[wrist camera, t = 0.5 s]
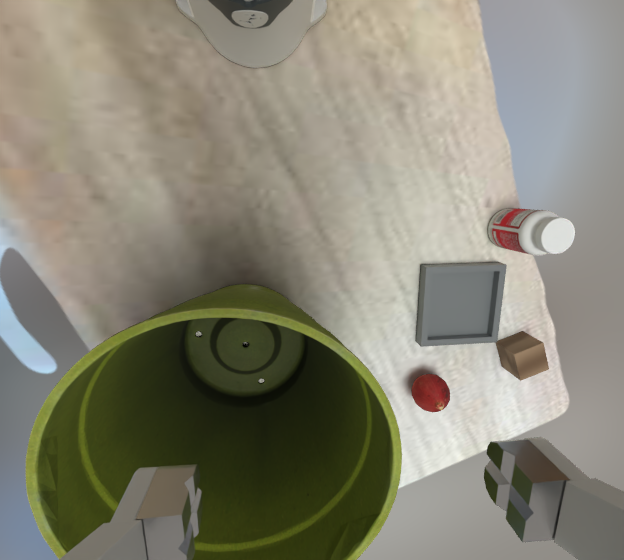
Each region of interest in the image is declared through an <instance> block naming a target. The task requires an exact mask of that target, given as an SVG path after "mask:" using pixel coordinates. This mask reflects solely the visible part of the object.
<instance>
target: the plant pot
mask: <svg viewBox="0 0 624 560" xmlns="http://www.w3.org/2000/svg"><path fill="white" fill-rule="evenodd" d="M197 331H200V332H201V333H202V336H201V337H196V336H195V334H196V332H197ZM243 342H248V343H249V346H248V347H246V348H245V347H243V345H242V344H243ZM261 378H262V379H264V380H265V382H264V383H262V384H260V383H258V380H259V379H261ZM401 462H402V451H401V440H400V434H399V428H398V425H397V421H396V417H395V415H394V412H393V410H392V407H391V405H390V402H389V400H388V398H387V396H386V395H385V393H384V391H383V390H382V388H381V386H380V385H379V383H378V382H377V380H376V379H375V377H374V376H373V375H372V373H371V372H370V371H369V369H368V368H367V367H366V366H365V365H364V364H363V363H362V362H361V361H360V360H359V359H358V358H357V357H356V356H355V355H354V354H353V353H352V352H351V351H349V350H348V349H347V348H346V347H345V346H344V345H343V344H342V343H341V342H340V341H339V340H338V339H337V338H336V337H335V336H334V335H332V334H331V333H330V332H329V331H327V330H326V329H325V328H323V327H322V326H321V325H319V324H318V323H317V322H316V321H315V320H314V319H313V318H312V317H310V316H309V315H308V314H307V313H305V312H304V311H303V310H301V309H300V308H299V307H297V306H296V305H294V304H293V303H291V302H290V301H289V300H287V299H286V298H285V297H284V296H282V295H281V294H279V293H278V292H276V291H274V290H271V289H269V288H266V287H262V286H258V285H252V284H238V285H232V286H228V287H224V288H221V289H219V290H216V291H214V292H212V293H208V294H205V295H202V296H200V297H197V298H194V299H192V300H189V301H187V302H184V303H182V304H180V305H178V306H176V307H174V308H172V309H169V310H167V311H164V312H162V313H160V314H157V315H155V316H153V317H151V318H149V319H147V320H145V321H143V322H140V323H138V324H136V325H133V326H131V327H129V328H127V329H125V330H123V331H121V332H119V333H117V334H115V335H114V336H112V337H110V338H109V339H107V340H106V341H104V342H103V343H101V344H99V345H98V346H96V347H95V348H94V349H93V350H91V351H90V352H89V353H88V354H86V355H85V356H84V357H83V358H81V359H80V360H79V361H78V362H77V363H76V364H75V365H74V366H73V367H72V368H71V369H70V370H69V371H68V372H67V373H66V374H65V375H64V376H63V377H62V379H61V380H60V381H59V382H58V383H57V385H56V386H55V387H54V389H53V390H52V391H51V393H50V394H49V396H48V397H47V399H46V401H45V403H44V404H43V406H42V408H41V410H40V412H39V414H38V416H37V418H36V420H35V423H34V426H33V429H32V432H31V435H30V439H29V444H28V449H27V455H26V487H27V495H28V500H29V503H30V506H31V509H32V512H33V515H34V518H35V520H36V522H37V525H38V528H39V530H40V532H41V534H42V536H43V537H44V539H45V541H46V542H47V543H48V545H49V546H50V548H51V549H52V550H53V552H54V553H55V554H56V556H57V557H58V558H59V559H60V558H62V557H63V556H64V555H65V554H67V553H68V552H69V551H70V550H71V549H73V548H74V547H75V546H76V545H78V544H79V543H80V542H81V541H82V540H84V539H85V538H86V537H87V536H89V535H90V534H91V533H92V532H93V531H95V530H96V529H97V528H98V527H100V526H101V525H102V524H103V523H110V522H111V520H112V518H113V516H114V513H115V511H116V509H117V507H118V505H119V503H120V501H121V499H122V497H123V495H124V493H125V491H126V489H127V487H128V485H129V483H130V481H131V479H132V477H133V475H134V473H135V472H136V471H137V470H138V469H139V468H146V467H159V466H177V465H196V464H197V465H198V466H199V470H200V481H199V485H198V488H199V489H200V490H201V491H202V517H201V525H200V530H199V533H198V535H197V536H196V537H195V538H194V545H195V553H194V557H193V560H356V559H358V558H359V557H360V555H361V554H362V553H363V552H364V551H365V550H366V548H367V547H368V546H369V545H370V544H371V542H372V541H373V540H374V538H375V537H376V536H377V534H378V533H379V532H380V530H381V528H382V526H383V524H384V523H385V521H386V519H387V517H388V515H389V513H390V510H391V508H392V505H393V503H394V500H395V497H396V494H397V490H398V486H399V481H400V474H401Z"/></svg>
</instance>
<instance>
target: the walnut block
mask: <svg viewBox="0 0 624 560" xmlns="http://www.w3.org/2000/svg"><path fill="white" fill-rule="evenodd" d="M496 346H497V349H498V353H499V357H500V361H501V365H502V367H503V368H505V369H506V370H507V371H509V372H510V373H511V374H513V375H514V376H515V377H516V378H518V379H519V380H520V381H521V380H523V379H526V378H528V377H531V376H533V375H536V374H538V373H541V372H543V371H546V370H548V369H549V367H548V362H547V358H546V353H545V348H544V344H543V342H541V341H539V340H537V339H536V338H534V337H532V336H530V335H528V334H527V333H525V332H523V331H522V332H519V333H517V334H514V335H512V336H509V337H507V338H504V339H502V340H499V341H497V342H496Z"/></svg>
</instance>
